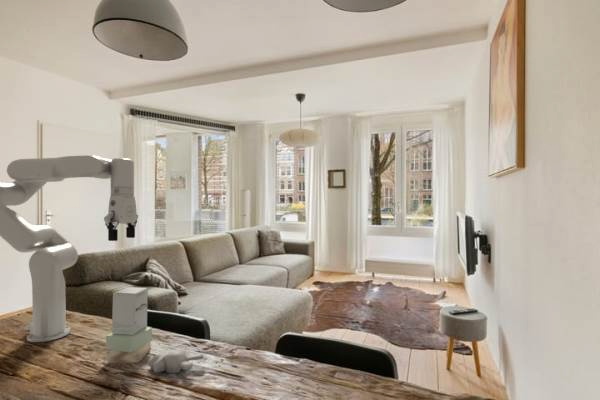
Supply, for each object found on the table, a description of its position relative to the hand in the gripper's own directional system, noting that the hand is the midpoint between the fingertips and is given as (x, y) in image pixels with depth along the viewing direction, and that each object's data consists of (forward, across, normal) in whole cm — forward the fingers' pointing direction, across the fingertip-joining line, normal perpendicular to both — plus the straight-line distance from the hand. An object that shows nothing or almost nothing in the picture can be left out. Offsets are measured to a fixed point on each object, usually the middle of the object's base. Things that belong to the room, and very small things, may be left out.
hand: (122, 239), depth 123 cm
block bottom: (+34, -16, -15) cm, 41 cm away
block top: (+31, -17, -15) cm, 38 cm away
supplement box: (+27, -16, -14) cm, 34 cm away
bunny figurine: (+34, -22, -33) cm, 52 cm away
